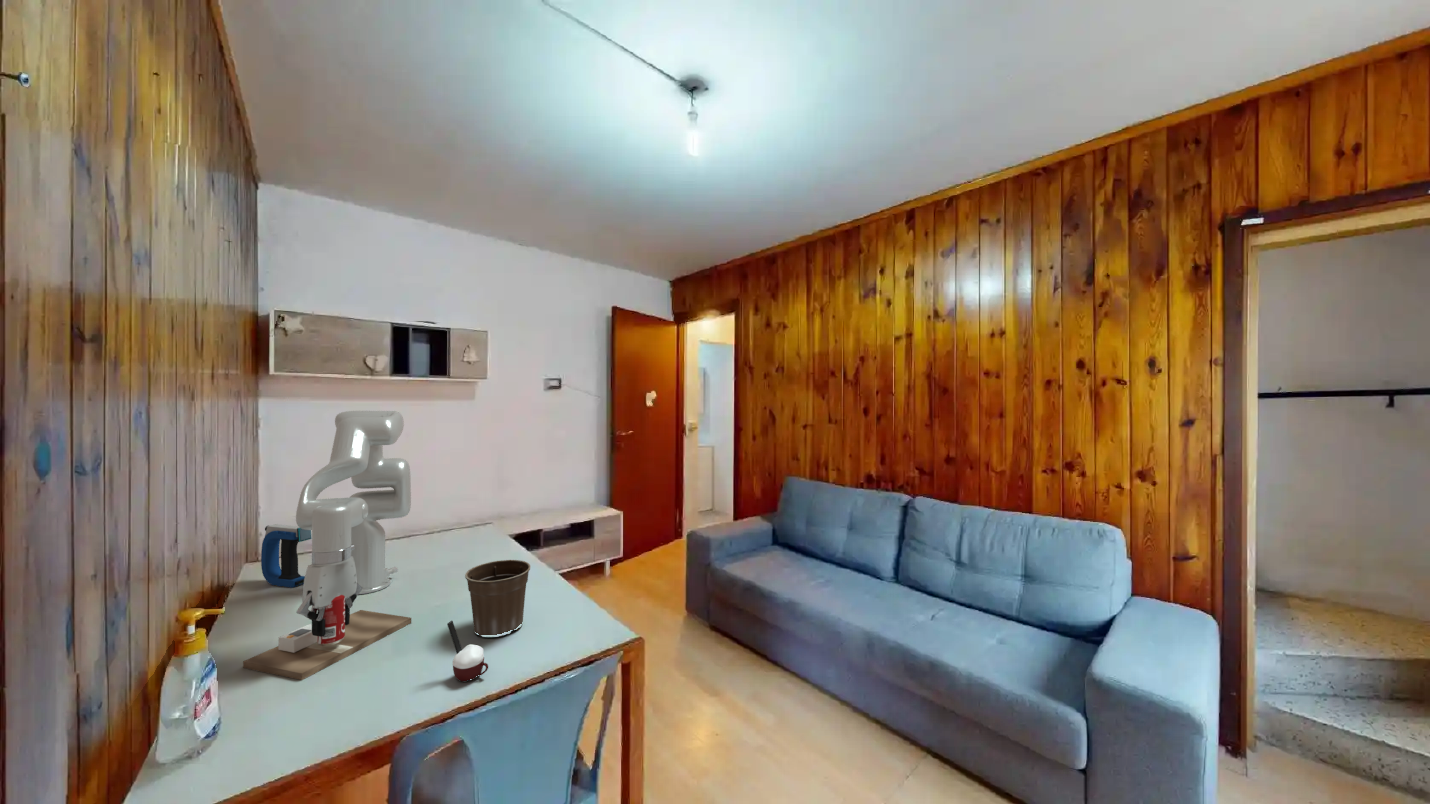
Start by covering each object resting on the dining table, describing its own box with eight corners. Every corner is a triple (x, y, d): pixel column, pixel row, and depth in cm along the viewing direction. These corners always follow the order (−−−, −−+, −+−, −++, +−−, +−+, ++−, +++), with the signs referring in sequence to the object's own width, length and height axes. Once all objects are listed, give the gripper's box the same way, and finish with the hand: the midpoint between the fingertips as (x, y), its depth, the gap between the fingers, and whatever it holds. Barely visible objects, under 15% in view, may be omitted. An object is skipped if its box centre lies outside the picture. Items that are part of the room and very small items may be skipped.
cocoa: (492, 677, 108) (496, 624, 108) (466, 691, 103) (470, 635, 103) (466, 664, 113) (470, 613, 113) (440, 676, 107) (444, 622, 107)
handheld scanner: (298, 589, 155) (299, 528, 155) (259, 584, 158) (260, 525, 158) (312, 584, 159) (314, 525, 160) (274, 579, 163) (275, 522, 163)
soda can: (327, 636, 119) (328, 588, 119) (349, 635, 119) (350, 587, 119) (311, 647, 114) (312, 596, 114) (335, 646, 114) (335, 596, 114)
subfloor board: (360, 615, 137) (360, 609, 137) (411, 623, 133) (411, 617, 133) (243, 667, 110) (243, 661, 110) (301, 680, 106) (301, 673, 106)
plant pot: (464, 649, 119) (464, 585, 119) (464, 622, 134) (465, 564, 134) (533, 635, 127) (533, 574, 127) (526, 610, 141) (527, 556, 141)
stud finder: (309, 635, 122) (309, 623, 122) (324, 638, 120) (324, 625, 120) (278, 649, 115) (278, 636, 115) (293, 652, 114) (294, 639, 114)
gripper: (354, 544, 126) (353, 612, 126) (280, 565, 109) (280, 645, 109) (376, 546, 124) (376, 616, 124) (305, 569, 107) (305, 649, 107)
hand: (331, 629), depth 117 cm, fingers closed on soda can, 5 cm apart
